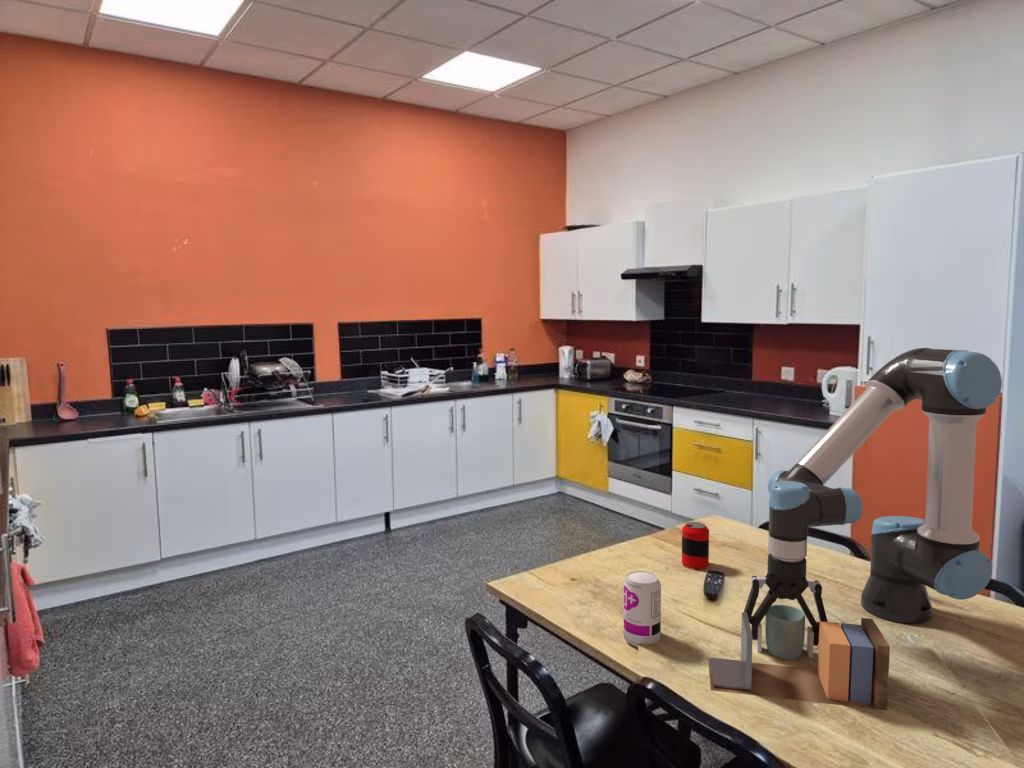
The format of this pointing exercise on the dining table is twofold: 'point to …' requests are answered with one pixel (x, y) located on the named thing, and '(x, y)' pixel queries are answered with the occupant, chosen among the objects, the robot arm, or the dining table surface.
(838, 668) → the book terracotta
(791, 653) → the cup
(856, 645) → the book navy
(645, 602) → the supplement can
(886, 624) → the dining table surface
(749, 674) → the bookend
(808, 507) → the robot arm
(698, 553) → the soda can
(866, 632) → the shelf
